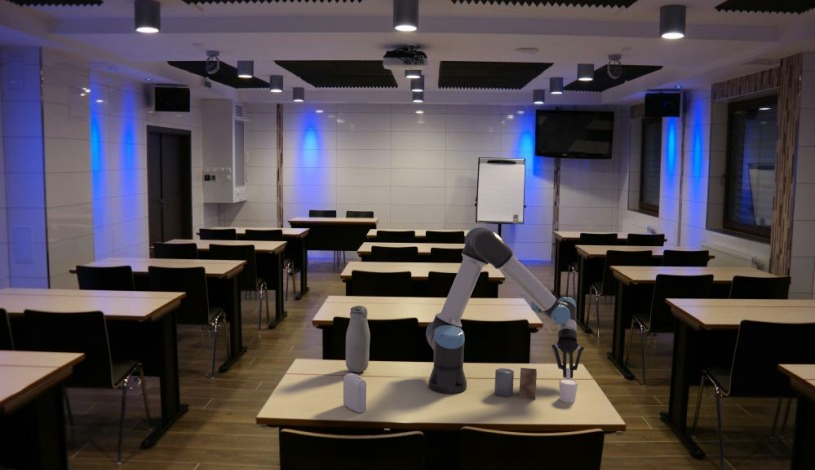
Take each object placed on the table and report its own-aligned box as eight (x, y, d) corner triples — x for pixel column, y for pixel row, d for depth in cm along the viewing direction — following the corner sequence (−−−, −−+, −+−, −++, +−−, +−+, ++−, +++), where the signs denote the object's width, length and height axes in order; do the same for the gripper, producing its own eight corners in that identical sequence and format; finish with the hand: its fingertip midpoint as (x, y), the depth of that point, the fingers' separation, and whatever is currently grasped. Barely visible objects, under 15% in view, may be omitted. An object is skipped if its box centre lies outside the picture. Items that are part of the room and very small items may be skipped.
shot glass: (556, 401, 241) (557, 383, 240) (559, 395, 247) (560, 377, 247) (575, 404, 238) (576, 385, 238) (577, 398, 245) (578, 380, 244)
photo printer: (341, 405, 231) (341, 372, 230) (351, 402, 234) (351, 369, 232) (357, 414, 223) (358, 380, 222) (367, 411, 226) (368, 377, 224)
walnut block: (519, 398, 243) (520, 372, 242) (519, 392, 249) (520, 367, 248) (535, 399, 242) (536, 373, 241) (535, 393, 248) (536, 368, 247)
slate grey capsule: (494, 396, 244) (495, 373, 243) (494, 389, 251) (495, 367, 250) (512, 397, 243) (513, 375, 242) (512, 391, 250) (513, 369, 249)
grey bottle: (344, 375, 263) (345, 308, 260) (346, 367, 273) (347, 303, 270) (368, 375, 263) (369, 309, 260) (369, 367, 273) (371, 303, 270)
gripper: (582, 337, 267) (584, 390, 253) (550, 335, 269) (550, 387, 255) (584, 328, 261) (586, 382, 247) (551, 326, 263) (551, 379, 249)
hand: (568, 385), depth 251 cm, fingers closed
